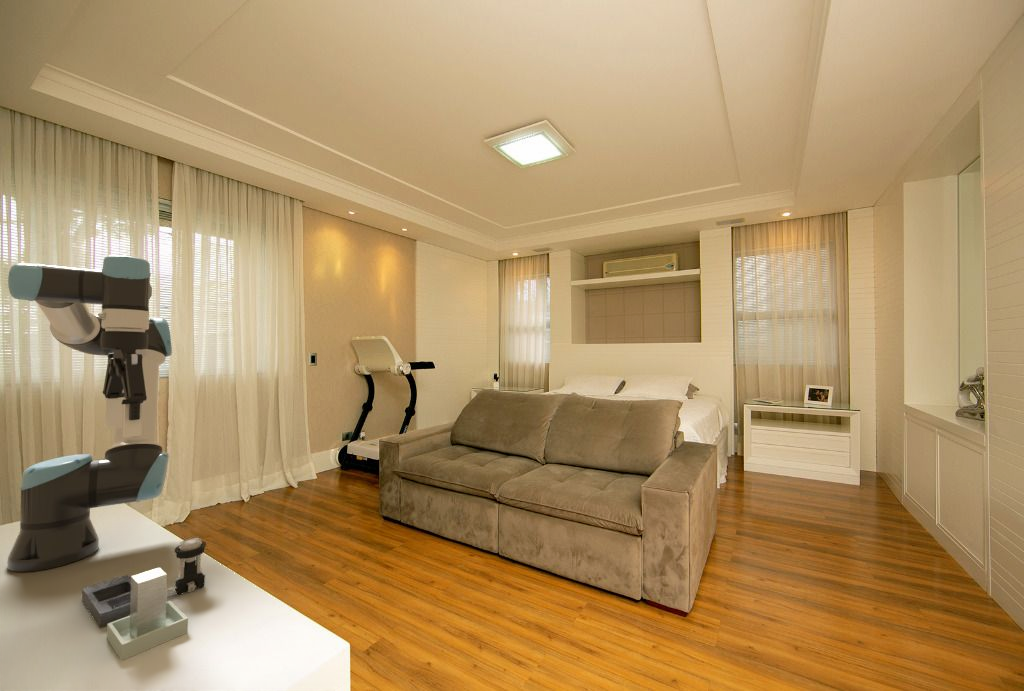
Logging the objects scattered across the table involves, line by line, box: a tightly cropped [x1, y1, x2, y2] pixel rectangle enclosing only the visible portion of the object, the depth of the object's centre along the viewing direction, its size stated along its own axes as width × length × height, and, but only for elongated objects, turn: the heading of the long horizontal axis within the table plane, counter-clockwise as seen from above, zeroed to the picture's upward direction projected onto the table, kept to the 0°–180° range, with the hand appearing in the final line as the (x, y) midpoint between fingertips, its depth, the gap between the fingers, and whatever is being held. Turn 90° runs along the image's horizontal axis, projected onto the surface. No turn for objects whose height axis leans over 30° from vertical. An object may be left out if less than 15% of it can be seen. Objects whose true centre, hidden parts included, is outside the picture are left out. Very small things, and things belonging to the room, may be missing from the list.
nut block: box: [130, 567, 168, 639], centre depth 78 cm, size 4×4×10 cm
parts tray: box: [106, 600, 189, 661], centre depth 78 cm, size 9×9×2 cm
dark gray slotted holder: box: [81, 574, 131, 629], centre depth 86 cm, size 14×7×3 cm, turn 54°
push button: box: [166, 537, 207, 597], centre depth 92 cm, size 7×5×10 cm
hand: (122, 432), depth 92 cm, fingers open, 13 cm apart
